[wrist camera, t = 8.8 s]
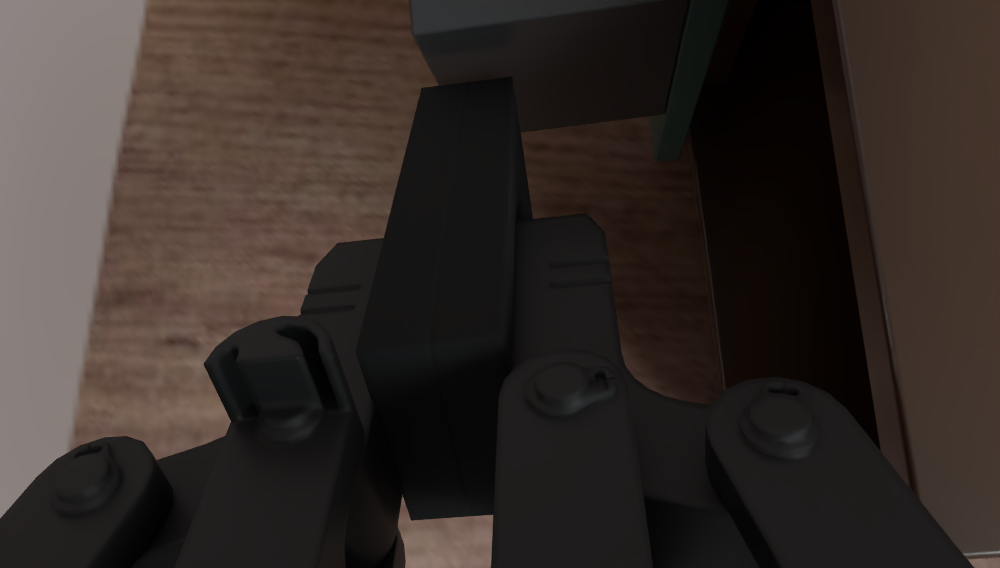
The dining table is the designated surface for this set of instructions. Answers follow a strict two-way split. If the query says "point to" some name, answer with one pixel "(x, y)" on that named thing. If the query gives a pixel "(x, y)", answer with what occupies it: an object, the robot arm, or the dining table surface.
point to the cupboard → (864, 227)
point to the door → (579, 57)
